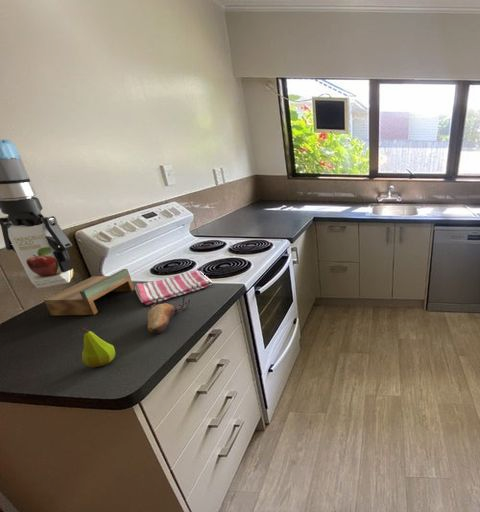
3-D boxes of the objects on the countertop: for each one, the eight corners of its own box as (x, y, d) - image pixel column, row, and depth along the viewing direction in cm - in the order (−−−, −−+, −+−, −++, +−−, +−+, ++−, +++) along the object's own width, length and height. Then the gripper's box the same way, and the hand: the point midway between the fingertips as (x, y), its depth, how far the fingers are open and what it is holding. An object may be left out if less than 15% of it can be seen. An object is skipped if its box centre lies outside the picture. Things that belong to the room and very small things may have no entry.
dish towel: (135, 291, 112) (132, 284, 111) (201, 273, 128) (199, 266, 127) (143, 308, 101) (140, 299, 100) (215, 285, 117) (213, 278, 116)
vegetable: (189, 323, 88) (162, 301, 83) (155, 346, 86) (126, 324, 81) (196, 301, 101) (174, 281, 97) (167, 321, 99) (143, 301, 95)
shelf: (51, 315, 97) (39, 292, 93) (98, 290, 113) (89, 269, 110) (94, 314, 97) (84, 291, 94) (134, 289, 114) (127, 268, 111)
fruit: (124, 354, 79) (109, 318, 75) (107, 371, 73) (89, 332, 69) (99, 356, 78) (82, 319, 74) (79, 373, 73) (60, 334, 68)
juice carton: (39, 281, 91) (11, 223, 84) (77, 274, 96) (53, 219, 89) (32, 290, 85) (1, 229, 78) (72, 283, 90) (47, 224, 83)
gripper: (71, 196, 84) (98, 265, 93) (-7, 195, 84) (27, 265, 92) (43, 200, 77) (75, 275, 86) (-42, 200, 77) (-1, 275, 85)
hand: (50, 270), depth 89 cm, fingers closed on juice carton, 9 cm apart
